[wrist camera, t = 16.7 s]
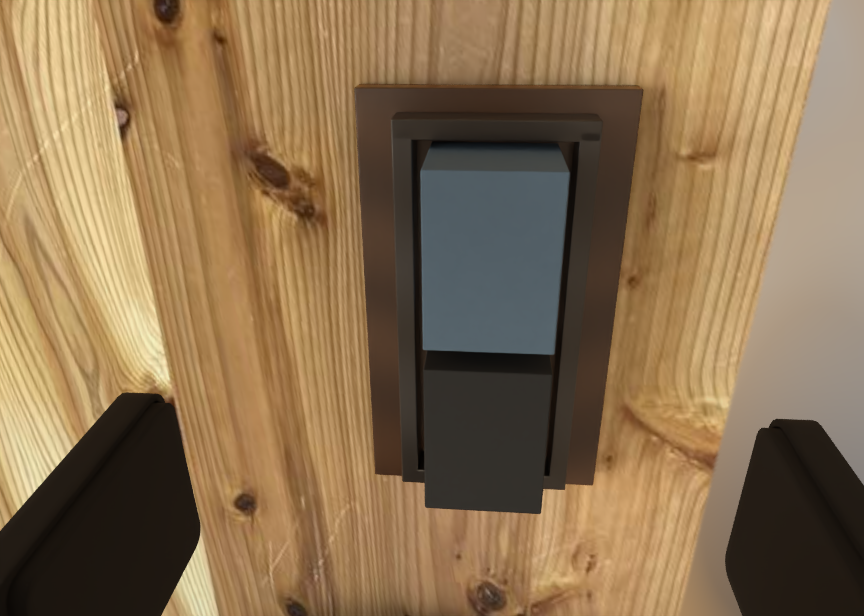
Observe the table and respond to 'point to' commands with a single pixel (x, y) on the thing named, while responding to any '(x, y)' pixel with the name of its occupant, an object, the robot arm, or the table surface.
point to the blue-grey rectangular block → (492, 246)
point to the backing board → (582, 256)
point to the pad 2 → (486, 430)
